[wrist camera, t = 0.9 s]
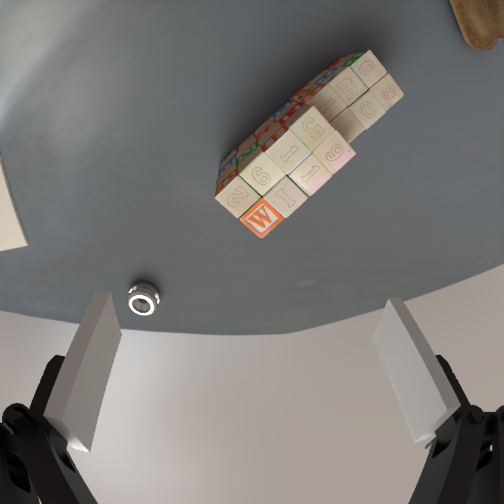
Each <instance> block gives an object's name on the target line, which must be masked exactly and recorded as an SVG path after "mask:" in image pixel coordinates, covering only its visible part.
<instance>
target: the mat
mask: <svg viewBox="0 0 504 504" xmlns="http://www.w3.org/2000/svg"><path fill="white" fill-rule="evenodd" d="M28 244H29V243H28V240H27V238H26V235H25V232H24V230H23V227H22V224H21V221H20V219H19V216H18V213H17V210H16V207H15V204H14V201H13V198H12V194H11V191H10V188H9V184H8V181H7V177H6V174H5V170H4V166H3V162H2V158H1V154H0V251H2V250H7V249H12V248H18V247H23V246H27V245H28Z"/></svg>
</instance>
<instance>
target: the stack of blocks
mask: <svg viewBox="0 0 504 504" xmlns="http://www.w3.org/2000/svg"><path fill="white" fill-rule="evenodd" d="M403 96H404V94H403V92H402V91H401V90H400V88H399V87H398V85H397V84H396V83H395V81H394V80H393V78H392V77H391V76H390V74H389V73H387V71H386V70H385V68H384V67H383V66H382V64H381V63H380V62H379V61H378V59H377V58H376V57H375V56H374V54H373V53H372V52H371V51H370V50H365V51H360V52H358V53H355V54H350V55H348V56H343V57H340V58H339V59H338V60H337V61H335V62H334V63H333V64H332V65H331V66H329V67H328V68H327V69H326V70H323V71H322V72H321V73H320V74H319V75H317V76H316V77H315V78H314V79H313V80H311V81H310V82H309V83H308V84H307V85H305V86H304V87H303V88H302V89H301V90H299V91H298V92H297V93H296V94H295V95H294V96H293V97H291V98H290V100H289V101H288V102H287V103H285V104H284V105H283V106H282V107H281V108H280V109H279V110H278V111H276V112H275V113H274V114H273V115H272V116H271V117H270V118H269V119H268V120H267V121H266V122H265V123H263V124H262V125H261V126H260V127H259V128H258V129H257V130H256V131H255V132H253V133H252V134H251V135H250V136H249V137H248V138H247V139H246V140H244V141H243V142H242V143H241V144H240V145H239V146H238V147H237V148H236V149H235V150H234V151H233V152H232V153H231V154H230V155H228V156H227V157H226V158H225V159H224V160H223V161H222V162H221V163H220V165H219V173H218V179H217V181H216V192H215V199H216V200H218V201H219V202H220V203H221V204H222V205H223V206H224V207H225V208H227V209H228V210H229V211H230V212H231V213H232V214H233V215H234V216H235V217H237V218H239V219H240V220H241V221H242V222H243V223H244V224H245V225H246V226H247V227H248V228H249V229H251V230H252V231H253V232H254V233H255V234H256V235H258V236H259V237H260V238H263V237H264V236H265V235H267V234H268V233H269V232H270V231H271V230H272V229H273V228H274V227H275V226H277V225H278V224H279V223H280V222H281V221H282V220H283V219H284V218H286V217H288V216H289V215H290V214H291V213H292V212H294V210H296V209H297V208H298V207H299V206H300V205H301V204H302V203H303V202H304V201H305V200H306V199H307V198H308V196H311V195H313V194H314V193H315V192H316V191H317V190H318V189H319V188H320V187H321V186H322V185H323V184H324V183H326V182H327V181H328V180H329V179H330V178H331V177H332V175H333V174H335V173H336V172H337V171H338V170H339V169H340V168H341V167H342V166H343V165H345V164H346V163H347V162H348V161H349V160H350V159H351V158H352V157H353V156H354V155H355V154H356V152H355V151H354V150H353V149H352V148H351V146H350V145H349V143H351V142H352V141H353V140H354V139H355V138H356V137H357V136H359V135H360V134H361V133H362V132H363V131H364V130H365V129H368V128H369V127H370V126H371V125H372V124H373V123H375V122H376V121H377V120H378V119H379V118H380V117H381V116H383V115H384V114H385V113H386V111H387V110H388V109H389V108H390V107H392V106H393V105H394V104H395V103H396V102H397V101H398V100H400V99H401V98H402V97H403Z"/></svg>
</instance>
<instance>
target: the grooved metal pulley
mask: <svg viewBox="0 0 504 504" xmlns="http://www.w3.org/2000/svg"><path fill="white" fill-rule="evenodd" d="M159 299H160V293H159V291H158V289H157V288H156V287H155V286H154V285H152V284H150V283H148V282H137V283H135V284H134V285H133V286H132V287H131V290H130V292H129V295H128V297H127V304H128V306H129V308H130V309H131V310H132V311H133V312H134V313H136V314H138V315H141V316H148V315H151V314H153V313H154V312H155V311H156V309H157V306H158V303H159Z"/></svg>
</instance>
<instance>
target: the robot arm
mask: <svg viewBox="0 0 504 504" xmlns="http://www.w3.org/2000/svg"><path fill="white" fill-rule="evenodd" d="M121 336H122V334H121V330H120V327H119V323H118V320H117V316H116V312H115V309H114V305H113V301H112V297H111V293H105V292H95V294H94V296H93V298H92V300H91V302H90V304H89V306H88V308H87V310H86V313H85V315H84V317H83V319H82V321H81V323H80V325H79V327H78V330H77V332H76V334H75V336H74V339H73V341H72V343H71V345H70V347H69V350H68V352H67V354H66V357H65V356H59V355H55V356H54V357H53V358H52V359H51V360H50V361H49V362H48V364H47V366H46V368H45V370H44V373H43V376H42V378H41V380H40V383H39V385H38V387H37V390H36V392H35V395H34V398H33V400H32V403H31V405H30V408H29V409H28V408H27V407H26V406H24V405H23V404H20V403H15V404H12V405H10V406H9V407H7V408H6V409H5V411H4V413H3V416H2V423H0V504H40V503H39V499H40V501H41V503H42V504H98V503H97V501H96V500H95V498H94V497H93V495H92V494H91V492H90V490H89V489H88V487H87V485H86V484H85V482H84V480H83V479H82V477H81V475H80V473H79V471H78V470H77V468H76V466H75V464H74V462H73V460H72V458H71V457H70V455H69V453H68V451H67V450H66V448H67V444H68V443H69V444H70V445H71V446H72V447H73V448H74V449H78V450H82V451H86V452H90V450H91V446H92V441H93V437H94V432H95V428H96V424H97V420H98V416H99V411H100V408H101V404H102V400H103V397H104V393H105V389H106V385H107V382H108V378H109V375H110V372H111V368H112V365H113V362H114V358H115V355H116V352H117V349H118V345H119V342H120V339H121ZM372 340H373V342H374V344H375V346H376V349H377V351H378V353H379V355H380V358H381V360H382V362H383V365H384V367H385V369H386V372H387V374H388V376H389V379H390V381H391V384H392V386H393V389H394V391H395V394H396V396H397V399H398V401H399V404H400V406H401V409H402V411H403V414H404V416H405V419H406V422H407V424H408V427H409V430H410V432H411V435H412V438H413V440H414V442H417V441H420V440H424V439H426V438H428V437H429V436H430V435H431V434H433V432H435V434H436V437H435V438H434V439H433V440H432V441H431V442H430V443H428V444H427V445H426V447H425V449H427V448H428V447H430V446H431V445H432V446H431V449H430V451H429V454H428V457H427V460H426V463H425V465H424V468H423V471H422V473H421V476H420V478H419V481H418V483H417V485H416V488H415V490H414V492H413V495H412V497H411V499H410V502H409V503H408V504H504V406H501V407H500V408H499V409H497V410H496V412H483V411H482V409H481V408H479V407H478V406H475V405H470V403H469V401H468V399H467V397H466V395H465V393H464V391H463V390H462V388H461V386H460V384H459V382H458V380H457V379H456V377H455V375H454V373H453V372H452V369H451V367H450V365H449V364H448V362H447V361H446V360H445V359H444V358H443V357H442V356H441V355H435V354H434V353H433V351H432V349H431V347H430V346H429V344H428V342H427V340H426V339H425V337H424V335H423V334H422V332H421V330H420V328H419V327H418V325H417V323H416V322H415V320H414V319H413V317H412V315H411V313H410V312H409V310H408V309H407V307H406V305H405V304H404V302H403V301H402V299H401V298H391V299H388V301H387V304H386V306H385V308H384V311H383V313H382V315H381V318H380V320H379V322H378V324H377V327H376V329H375V331H374V333H373V336H372ZM491 445H492V451H490V446H491ZM38 497H39V499H38Z"/></svg>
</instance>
